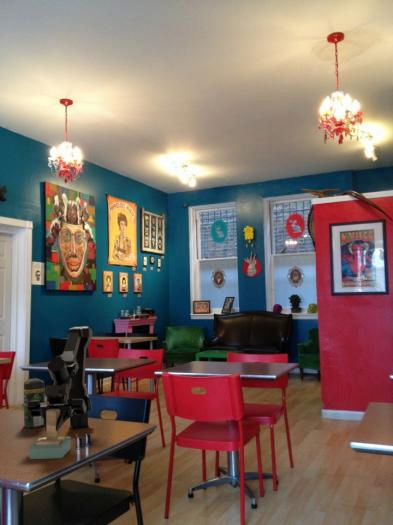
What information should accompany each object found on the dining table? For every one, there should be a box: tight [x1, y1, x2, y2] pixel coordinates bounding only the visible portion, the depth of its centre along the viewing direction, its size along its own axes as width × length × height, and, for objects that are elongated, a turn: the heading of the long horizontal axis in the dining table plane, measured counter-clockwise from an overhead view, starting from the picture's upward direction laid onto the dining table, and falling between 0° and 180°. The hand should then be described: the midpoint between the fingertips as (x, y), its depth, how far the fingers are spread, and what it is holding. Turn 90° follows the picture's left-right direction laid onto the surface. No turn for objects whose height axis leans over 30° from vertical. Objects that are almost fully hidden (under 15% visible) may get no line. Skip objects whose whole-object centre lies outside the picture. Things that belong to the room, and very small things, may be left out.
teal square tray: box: [29, 436, 72, 460], centre depth 154 cm, size 10×10×4 cm
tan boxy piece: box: [36, 409, 66, 446], centre depth 155 cm, size 7×7×10 cm
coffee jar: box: [23, 378, 46, 429], centre depth 196 cm, size 10×8×19 cm
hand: (51, 430), depth 155 cm, fingers closed on tan boxy piece, 3 cm apart
